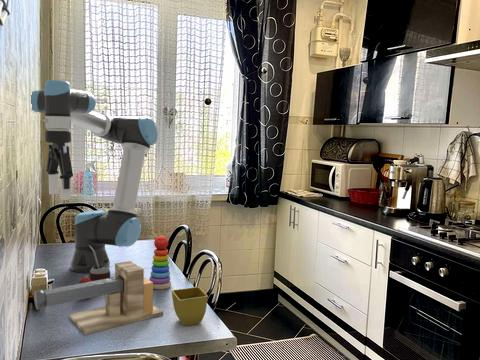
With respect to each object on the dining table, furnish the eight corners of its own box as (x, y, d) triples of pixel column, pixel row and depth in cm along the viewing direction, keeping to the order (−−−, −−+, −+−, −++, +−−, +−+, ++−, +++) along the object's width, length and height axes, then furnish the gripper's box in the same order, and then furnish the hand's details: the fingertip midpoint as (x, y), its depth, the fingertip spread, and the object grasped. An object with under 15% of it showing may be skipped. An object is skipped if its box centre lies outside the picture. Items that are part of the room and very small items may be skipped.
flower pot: (178, 330, 128) (179, 300, 127) (170, 318, 136) (171, 289, 135) (207, 325, 131) (208, 296, 130) (198, 314, 139) (198, 286, 138)
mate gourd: (108, 292, 156) (108, 250, 154) (85, 292, 155) (84, 250, 153) (112, 284, 163) (111, 244, 162) (89, 285, 162) (89, 245, 161)
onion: (78, 303, 145) (77, 279, 145) (75, 297, 150) (75, 274, 150) (96, 300, 148) (96, 277, 147) (93, 294, 153) (93, 272, 152)
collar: (131, 303, 144) (131, 276, 143) (140, 301, 146) (140, 274, 145) (143, 312, 137) (143, 284, 136) (152, 310, 139) (152, 282, 138)
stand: (69, 317, 134) (68, 269, 133) (143, 300, 149) (143, 256, 147) (85, 334, 123) (84, 282, 122) (162, 314, 138) (163, 267, 136)
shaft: (34, 306, 124) (33, 288, 123) (129, 286, 141) (129, 271, 140) (39, 312, 120) (38, 294, 119) (136, 291, 137) (136, 275, 136)
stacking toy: (166, 291, 158) (166, 239, 156) (145, 289, 160) (145, 237, 158) (174, 284, 166) (174, 234, 164) (153, 282, 167) (154, 233, 165)
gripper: (35, 129, 149) (37, 192, 151) (57, 130, 129) (58, 202, 132) (59, 130, 153) (60, 191, 156) (83, 131, 134) (84, 200, 136)
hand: (59, 196), depth 144 cm, fingers open, 13 cm apart
